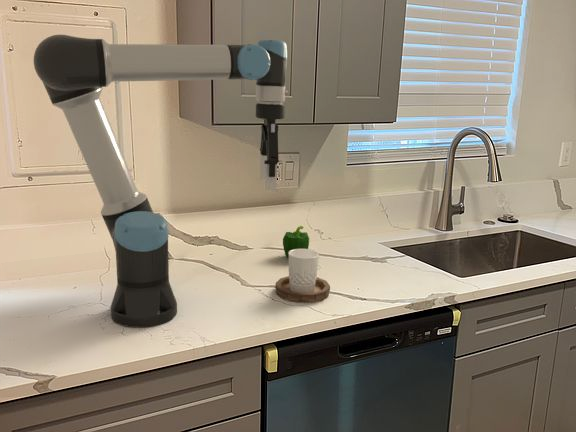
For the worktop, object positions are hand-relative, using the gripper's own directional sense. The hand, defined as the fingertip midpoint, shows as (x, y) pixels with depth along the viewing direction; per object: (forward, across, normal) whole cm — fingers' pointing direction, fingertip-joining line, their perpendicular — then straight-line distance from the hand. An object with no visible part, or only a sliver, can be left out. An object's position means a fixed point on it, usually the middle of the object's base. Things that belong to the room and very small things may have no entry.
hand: (267, 184), depth 151 cm
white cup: (+26, -10, -9) cm, 30 cm away
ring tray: (+27, -10, -9) cm, 30 cm away
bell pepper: (+27, +18, -12) cm, 35 cm away
